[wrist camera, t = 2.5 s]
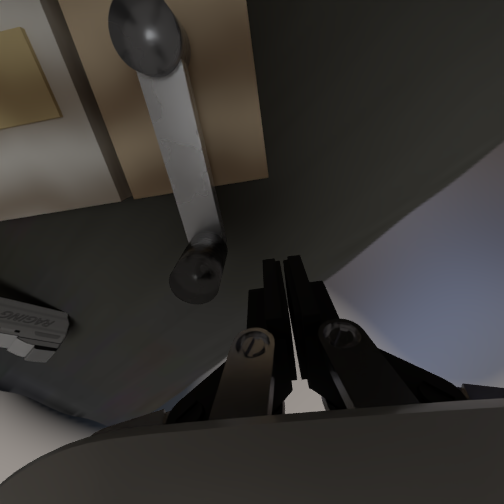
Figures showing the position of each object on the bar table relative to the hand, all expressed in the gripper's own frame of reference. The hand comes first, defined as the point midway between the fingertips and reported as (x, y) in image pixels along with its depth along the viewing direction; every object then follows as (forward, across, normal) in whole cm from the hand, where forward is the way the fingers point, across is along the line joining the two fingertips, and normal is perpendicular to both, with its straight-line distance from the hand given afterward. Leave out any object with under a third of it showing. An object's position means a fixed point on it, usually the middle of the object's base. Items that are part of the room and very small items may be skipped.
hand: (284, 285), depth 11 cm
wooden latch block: (+13, +13, -11) cm, 21 cm away
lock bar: (+8, +5, -6) cm, 11 cm away
